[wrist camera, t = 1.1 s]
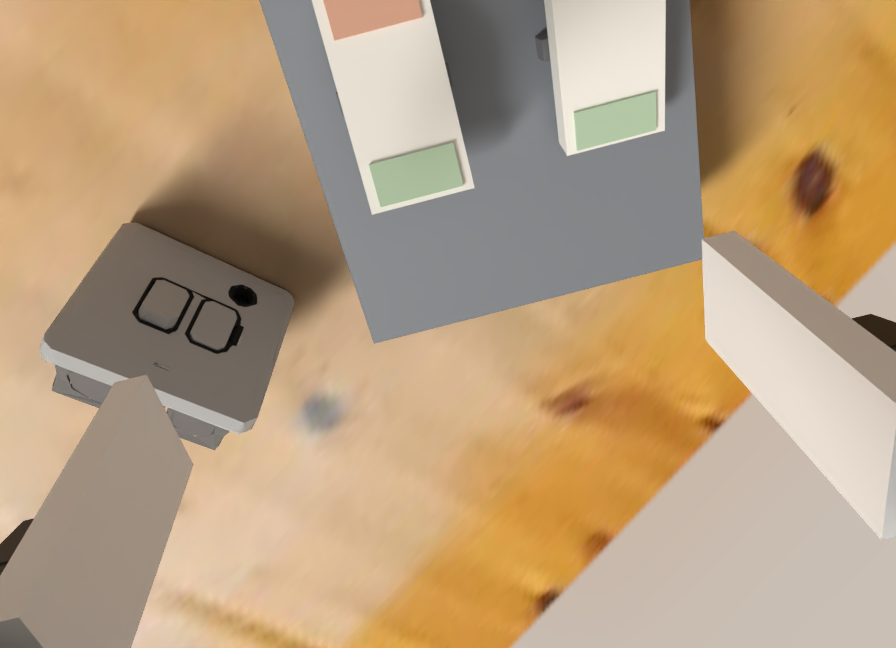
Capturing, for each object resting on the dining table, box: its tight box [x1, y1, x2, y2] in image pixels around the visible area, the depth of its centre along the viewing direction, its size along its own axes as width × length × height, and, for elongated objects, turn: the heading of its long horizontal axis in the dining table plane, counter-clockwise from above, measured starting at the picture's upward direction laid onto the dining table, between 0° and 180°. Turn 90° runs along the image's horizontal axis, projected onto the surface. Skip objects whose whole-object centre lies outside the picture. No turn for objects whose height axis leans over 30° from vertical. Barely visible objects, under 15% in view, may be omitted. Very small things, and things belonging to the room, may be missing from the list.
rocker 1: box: [312, 0, 475, 215], centre depth 25 cm, size 8×4×1 cm, turn 13°
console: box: [259, 0, 704, 343], centre depth 29 cm, size 22×16×7 cm
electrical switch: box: [40, 222, 295, 450], centre depth 33 cm, size 9×5×9 cm, turn 59°
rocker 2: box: [544, 0, 666, 156], centre depth 25 cm, size 8×4×1 cm, turn 14°
